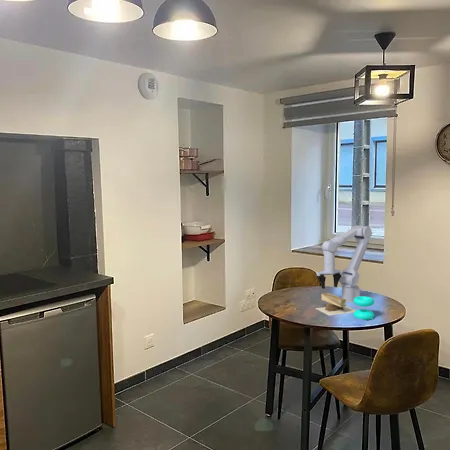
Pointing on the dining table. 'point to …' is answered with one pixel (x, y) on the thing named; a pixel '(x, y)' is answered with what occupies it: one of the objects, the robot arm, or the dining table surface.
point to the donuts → (363, 302)
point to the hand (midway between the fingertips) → (329, 287)
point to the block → (333, 307)
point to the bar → (333, 299)
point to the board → (346, 310)
